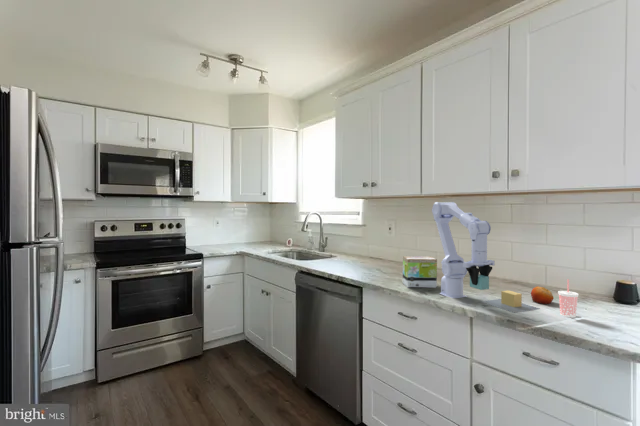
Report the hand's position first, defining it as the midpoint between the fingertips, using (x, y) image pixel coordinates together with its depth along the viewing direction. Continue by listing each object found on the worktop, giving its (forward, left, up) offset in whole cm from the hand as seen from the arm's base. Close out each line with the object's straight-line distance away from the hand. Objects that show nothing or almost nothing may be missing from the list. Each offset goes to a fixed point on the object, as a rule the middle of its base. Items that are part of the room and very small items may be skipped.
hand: (479, 284), depth 135 cm
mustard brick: (+4, +13, -9) cm, 16 cm away
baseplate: (+4, +12, -9) cm, 16 cm away
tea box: (-39, 0, -10) cm, 40 cm away
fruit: (+6, +28, -10) cm, 30 cm away
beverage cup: (+21, +21, -10) cm, 31 cm away
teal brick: (0, 0, -2) cm, 2 cm away
